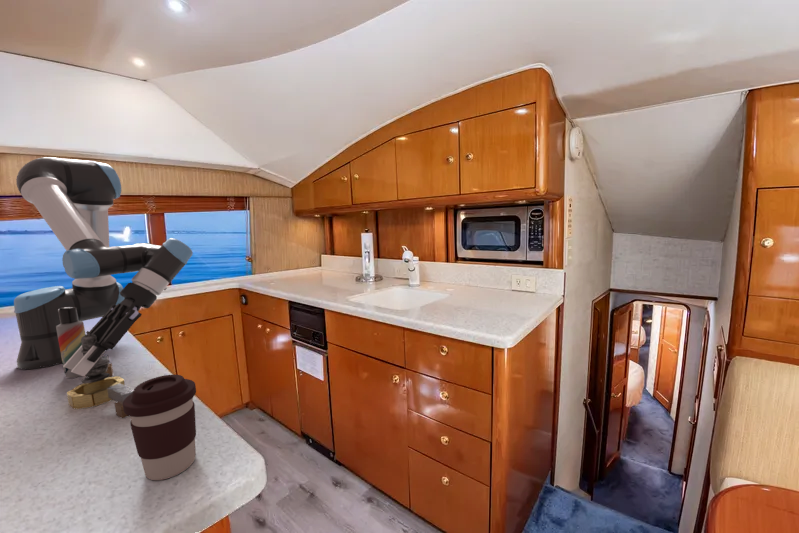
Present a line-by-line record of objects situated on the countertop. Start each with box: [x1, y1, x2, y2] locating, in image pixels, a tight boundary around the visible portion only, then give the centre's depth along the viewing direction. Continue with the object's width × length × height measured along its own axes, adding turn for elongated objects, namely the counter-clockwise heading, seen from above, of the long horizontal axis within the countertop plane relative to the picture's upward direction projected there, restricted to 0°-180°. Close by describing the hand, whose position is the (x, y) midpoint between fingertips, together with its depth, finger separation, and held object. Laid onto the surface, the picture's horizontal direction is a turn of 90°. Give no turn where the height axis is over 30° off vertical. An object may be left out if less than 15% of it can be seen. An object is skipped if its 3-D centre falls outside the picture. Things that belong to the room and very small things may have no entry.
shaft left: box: [101, 354, 114, 377], centre depth 96 cm, size 8×4×5 cm, turn 36°
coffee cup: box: [123, 374, 197, 481], centre depth 58 cm, size 10×10×15 cm
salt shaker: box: [80, 330, 111, 384], centre depth 84 cm, size 6×6×12 cm
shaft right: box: [107, 383, 135, 419], centre depth 78 cm, size 8×4×5 cm, turn 60°
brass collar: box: [66, 375, 126, 410], centre depth 85 cm, size 10×10×3 cm
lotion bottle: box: [56, 307, 87, 379], centre depth 99 cm, size 6×6×20 cm
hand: (73, 371), depth 81 cm, fingers closed on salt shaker, 5 cm apart
